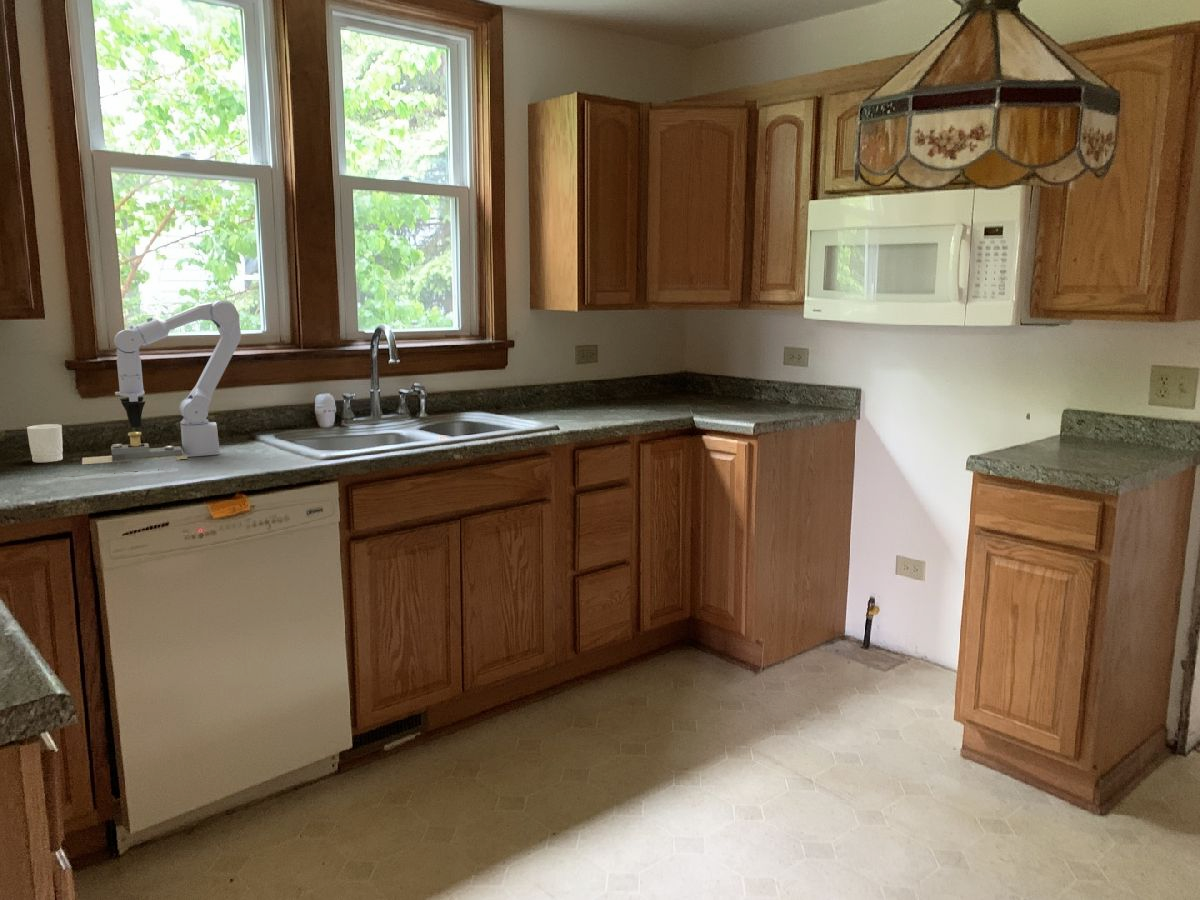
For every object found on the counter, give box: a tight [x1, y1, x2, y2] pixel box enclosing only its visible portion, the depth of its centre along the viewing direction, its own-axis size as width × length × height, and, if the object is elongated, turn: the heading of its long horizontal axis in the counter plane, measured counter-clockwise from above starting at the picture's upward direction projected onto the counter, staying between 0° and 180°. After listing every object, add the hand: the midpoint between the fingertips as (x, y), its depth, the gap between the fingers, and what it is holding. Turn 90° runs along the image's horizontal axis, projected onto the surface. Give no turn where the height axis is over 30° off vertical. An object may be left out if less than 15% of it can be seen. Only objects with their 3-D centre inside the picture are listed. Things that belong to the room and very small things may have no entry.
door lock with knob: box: [81, 442, 189, 465], centre depth 245 cm, size 25×10×5 cm, turn 119°
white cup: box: [26, 423, 64, 463], centre depth 240 cm, size 8×8×10 cm
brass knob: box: [127, 431, 142, 447], centre depth 244 cm, size 3×3×7 cm
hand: (134, 425), depth 245 cm, fingers open, 7 cm apart
